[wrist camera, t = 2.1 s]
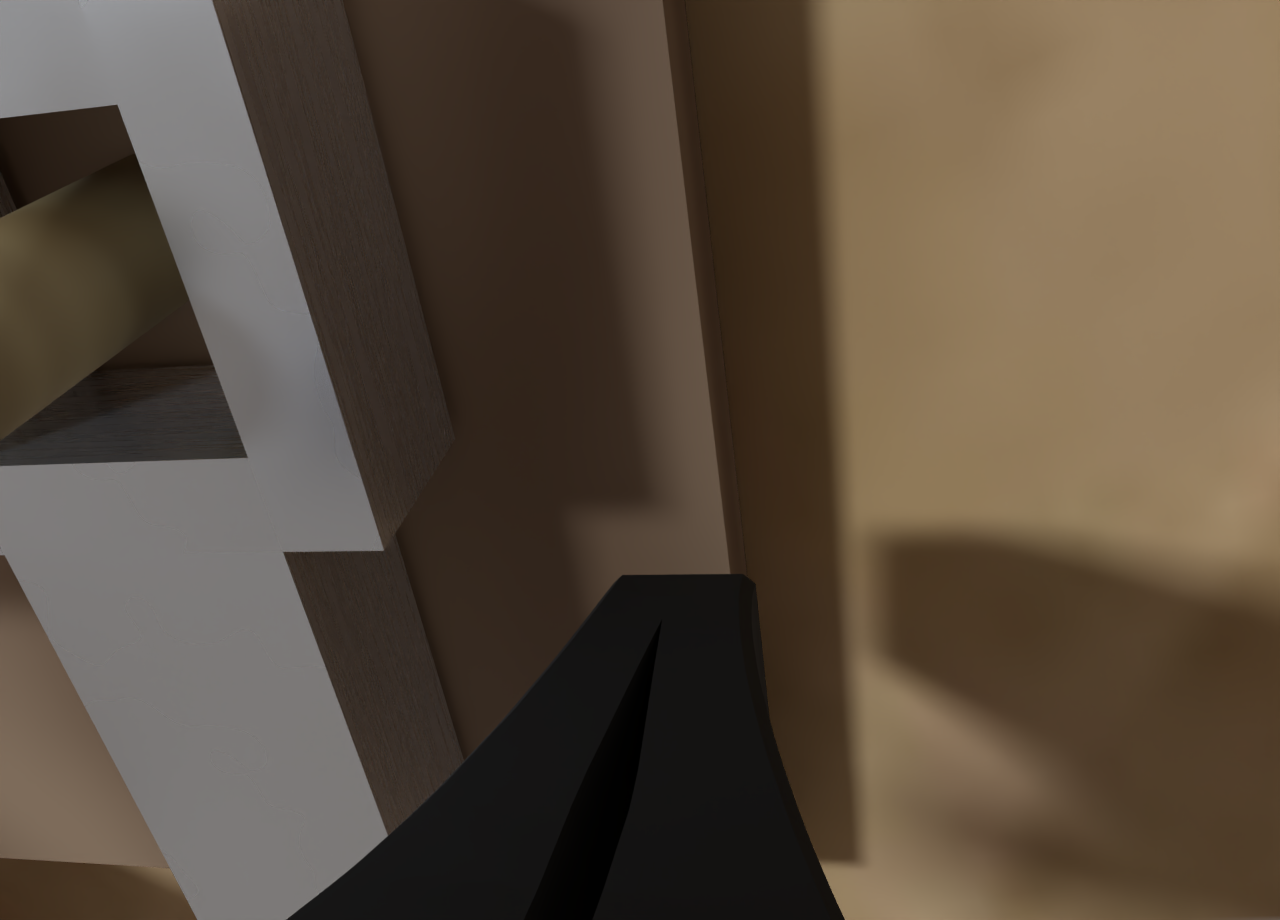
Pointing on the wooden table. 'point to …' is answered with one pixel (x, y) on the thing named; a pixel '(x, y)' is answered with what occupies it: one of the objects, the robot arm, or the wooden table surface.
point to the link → (241, 455)
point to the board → (461, 343)
